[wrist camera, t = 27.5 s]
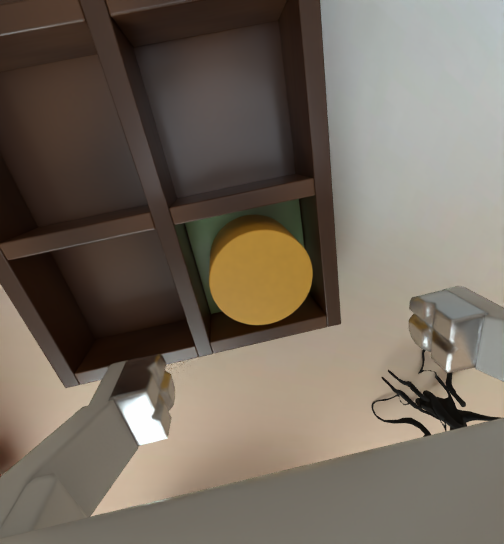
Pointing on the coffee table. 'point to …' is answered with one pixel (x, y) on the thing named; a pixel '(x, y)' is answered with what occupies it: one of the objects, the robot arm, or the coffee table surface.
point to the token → (258, 270)
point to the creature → (435, 405)
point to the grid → (156, 169)
